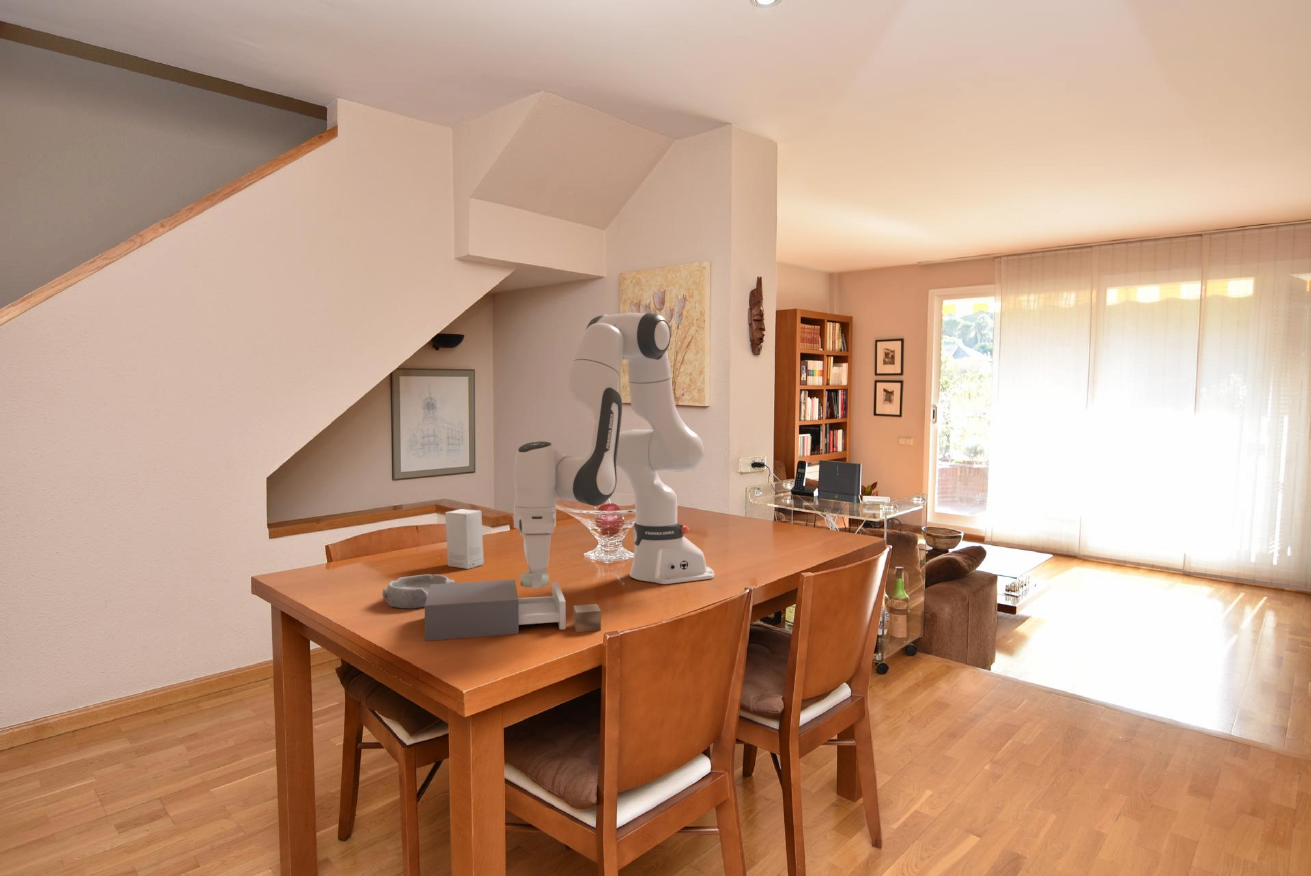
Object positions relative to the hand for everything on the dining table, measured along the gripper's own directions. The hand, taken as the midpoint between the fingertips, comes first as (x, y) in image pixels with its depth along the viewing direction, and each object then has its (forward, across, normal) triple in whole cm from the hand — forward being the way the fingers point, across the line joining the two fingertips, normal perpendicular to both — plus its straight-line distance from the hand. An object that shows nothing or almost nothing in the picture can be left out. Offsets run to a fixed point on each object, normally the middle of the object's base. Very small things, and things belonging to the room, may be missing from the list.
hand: (534, 583), depth 152 cm
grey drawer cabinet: (+8, 0, -13) cm, 15 cm away
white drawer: (+8, 0, -3) cm, 9 cm away
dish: (+8, -22, -26) cm, 35 cm away
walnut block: (+8, +7, +10) cm, 15 cm away
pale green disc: (0, 0, 0) cm, 0 cm away
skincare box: (+8, -54, -16) cm, 57 cm away
